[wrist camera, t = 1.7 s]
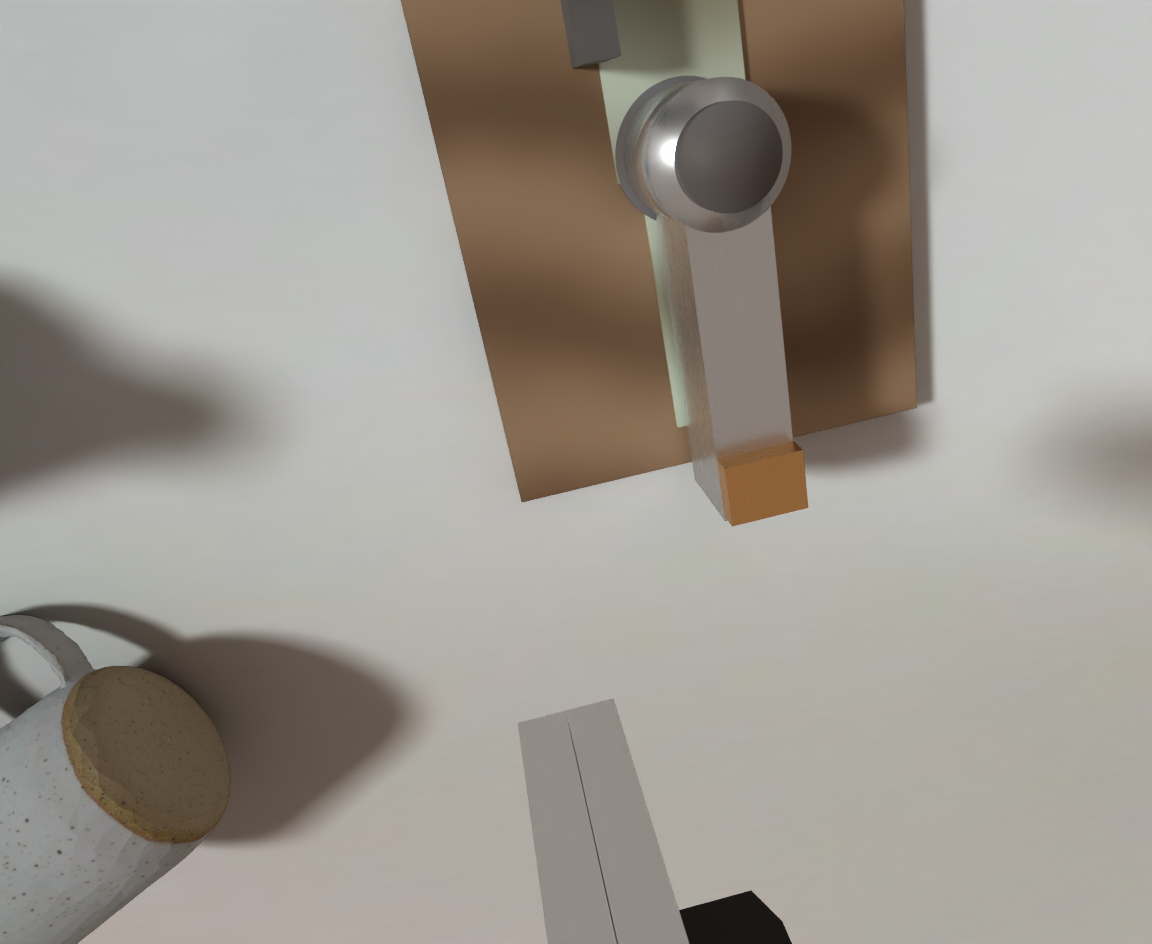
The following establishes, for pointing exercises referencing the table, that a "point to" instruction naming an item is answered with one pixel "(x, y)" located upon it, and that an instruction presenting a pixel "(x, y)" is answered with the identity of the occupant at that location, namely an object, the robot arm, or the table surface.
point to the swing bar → (722, 312)
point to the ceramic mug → (98, 791)
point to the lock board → (629, 229)
